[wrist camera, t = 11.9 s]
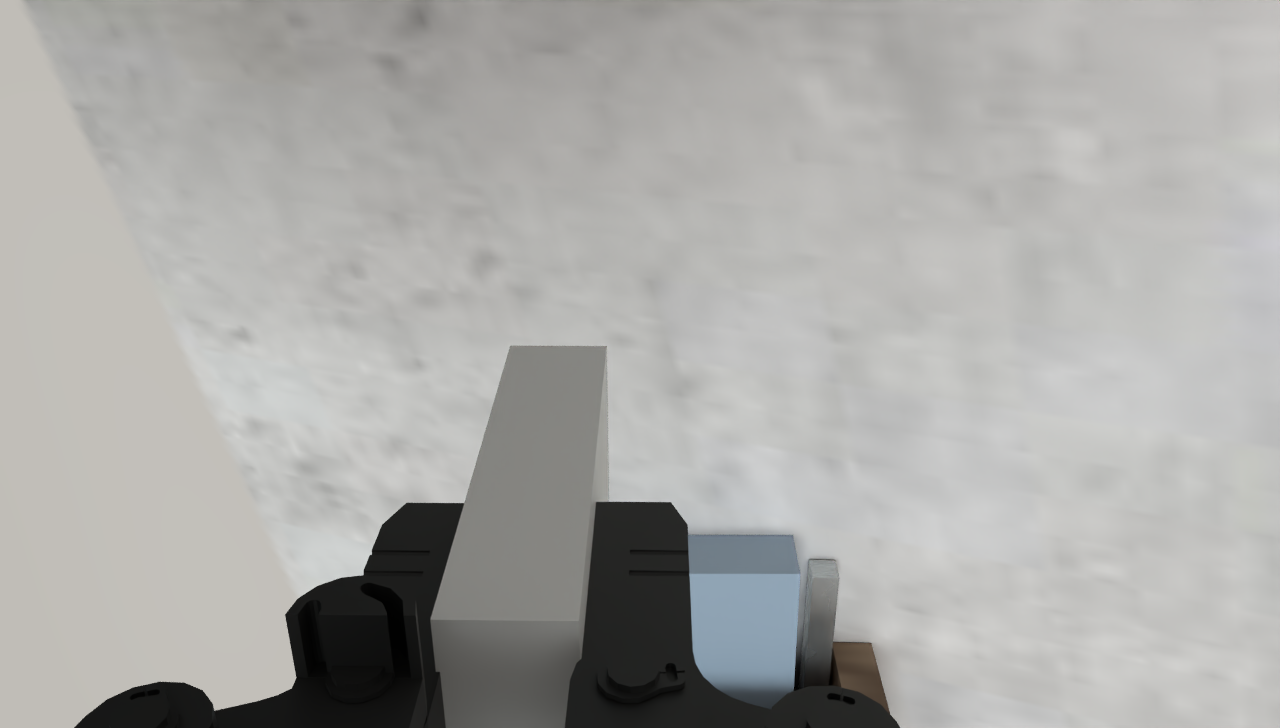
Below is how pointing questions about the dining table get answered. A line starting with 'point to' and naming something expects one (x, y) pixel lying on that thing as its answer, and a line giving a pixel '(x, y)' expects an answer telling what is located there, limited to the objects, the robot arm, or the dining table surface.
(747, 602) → the light blue block
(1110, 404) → the dining table surface
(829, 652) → the shelf
